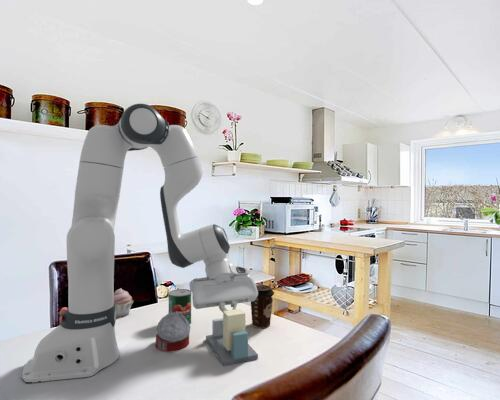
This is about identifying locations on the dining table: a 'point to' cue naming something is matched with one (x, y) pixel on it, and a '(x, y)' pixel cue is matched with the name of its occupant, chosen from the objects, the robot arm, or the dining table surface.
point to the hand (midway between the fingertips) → (231, 317)
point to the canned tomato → (180, 302)
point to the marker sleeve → (232, 325)
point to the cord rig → (238, 345)
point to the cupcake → (122, 302)
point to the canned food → (172, 332)
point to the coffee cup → (262, 307)
